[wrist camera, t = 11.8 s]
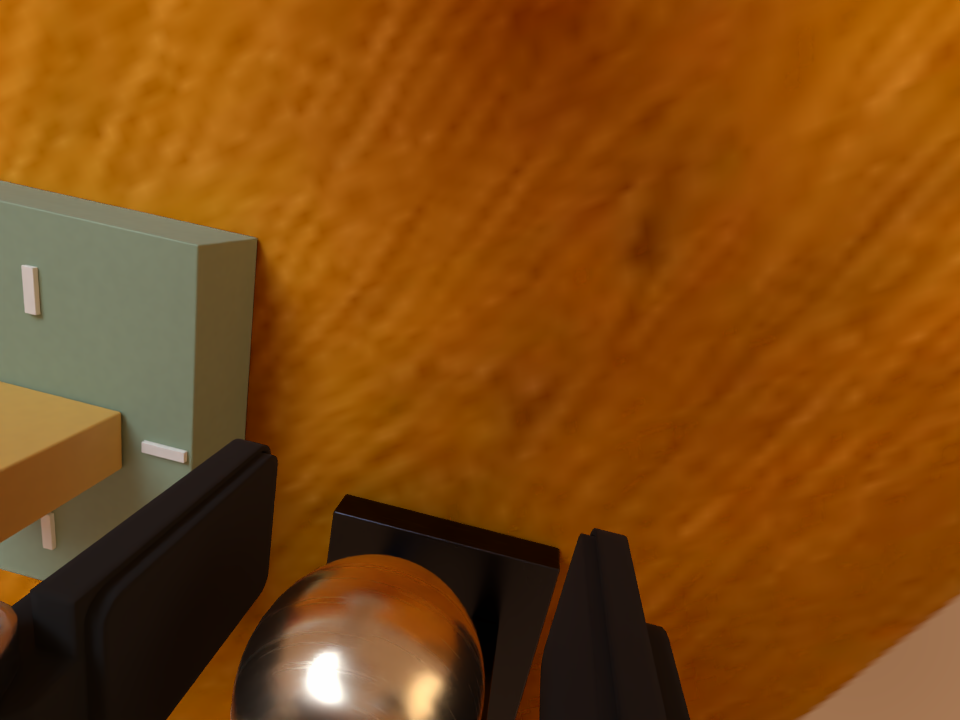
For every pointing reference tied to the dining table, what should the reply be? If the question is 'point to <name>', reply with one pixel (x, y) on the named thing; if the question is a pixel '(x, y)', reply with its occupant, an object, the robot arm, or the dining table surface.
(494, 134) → the dining table surface
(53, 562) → the plate
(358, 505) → the handle bracket
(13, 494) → the lock knob
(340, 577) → the ball knob lever
